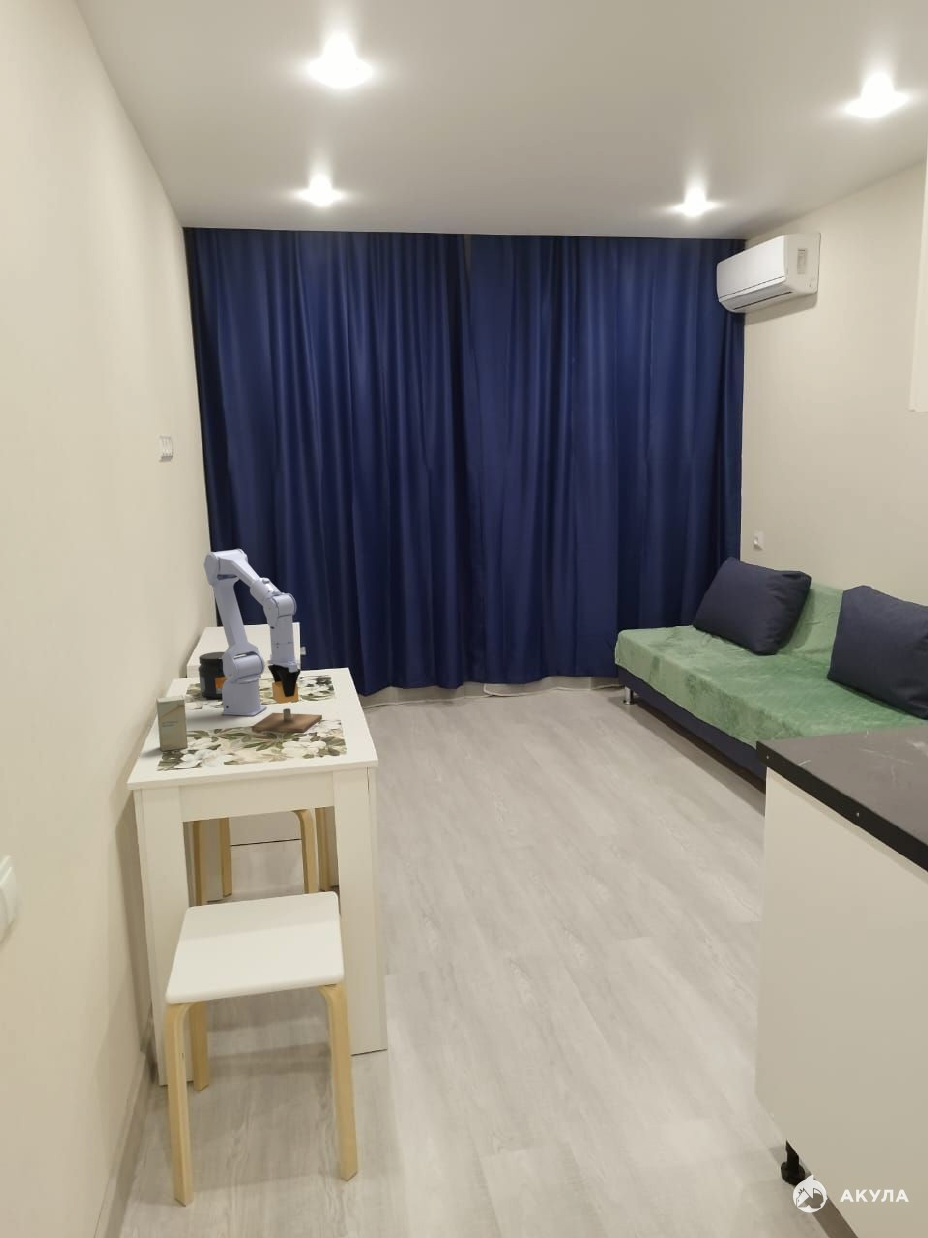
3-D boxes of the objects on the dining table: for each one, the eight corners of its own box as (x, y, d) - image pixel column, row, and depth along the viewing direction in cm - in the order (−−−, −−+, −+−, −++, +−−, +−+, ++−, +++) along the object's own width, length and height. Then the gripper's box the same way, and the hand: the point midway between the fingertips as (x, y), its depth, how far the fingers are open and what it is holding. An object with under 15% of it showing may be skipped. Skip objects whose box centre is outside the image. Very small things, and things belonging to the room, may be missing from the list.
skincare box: (161, 752, 213) (156, 702, 210) (159, 746, 217) (155, 698, 214) (189, 747, 215) (184, 699, 213) (186, 742, 219) (182, 694, 217)
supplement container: (243, 695, 259) (240, 655, 257) (207, 702, 253) (204, 661, 251) (230, 688, 268) (227, 649, 266) (195, 694, 262) (192, 654, 260)
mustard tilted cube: (279, 703, 227) (278, 686, 226) (273, 699, 231) (271, 682, 230) (298, 700, 229) (297, 683, 228) (291, 696, 233) (290, 679, 232)
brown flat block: (252, 730, 227) (251, 715, 226) (273, 716, 239) (271, 701, 238) (303, 732, 224) (302, 717, 223) (322, 718, 235) (321, 704, 235)
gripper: (257, 639, 231) (261, 690, 234) (276, 649, 219) (280, 702, 221) (283, 635, 235) (287, 685, 237) (304, 645, 222) (307, 698, 225)
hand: (285, 693), depth 230 cm, fingers closed on mustard tilted cube, 5 cm apart
